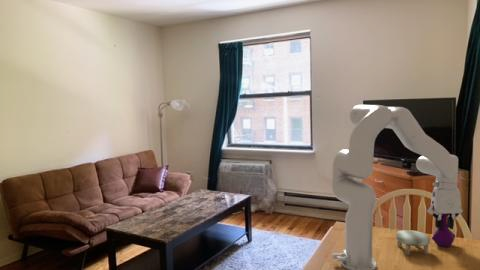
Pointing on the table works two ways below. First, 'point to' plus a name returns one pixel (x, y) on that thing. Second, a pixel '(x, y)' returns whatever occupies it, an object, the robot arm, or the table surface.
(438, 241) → the perfume bottle
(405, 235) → the stool
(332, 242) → the table surface
